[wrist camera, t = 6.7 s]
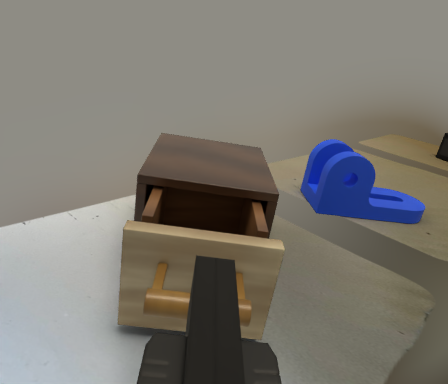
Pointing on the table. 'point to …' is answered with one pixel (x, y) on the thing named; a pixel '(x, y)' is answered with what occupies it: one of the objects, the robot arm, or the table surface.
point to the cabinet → (207, 171)
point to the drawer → (186, 255)
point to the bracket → (353, 187)
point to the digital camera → (443, 148)
